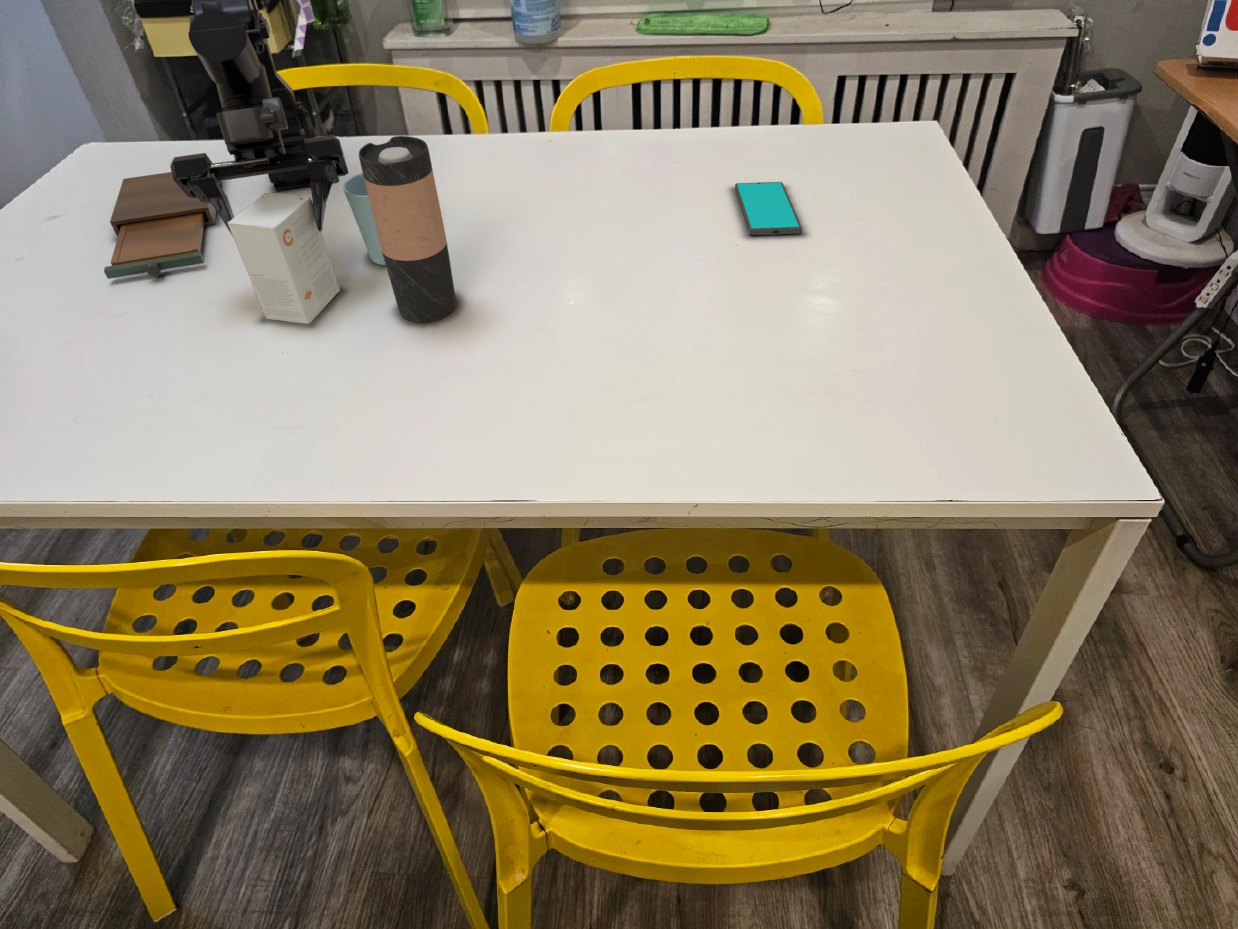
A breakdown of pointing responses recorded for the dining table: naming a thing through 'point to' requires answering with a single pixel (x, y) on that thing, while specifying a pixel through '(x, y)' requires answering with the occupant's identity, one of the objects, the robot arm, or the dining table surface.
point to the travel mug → (410, 226)
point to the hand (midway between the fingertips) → (279, 236)
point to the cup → (364, 215)
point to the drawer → (157, 245)
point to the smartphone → (767, 208)
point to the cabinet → (155, 201)
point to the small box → (285, 257)
